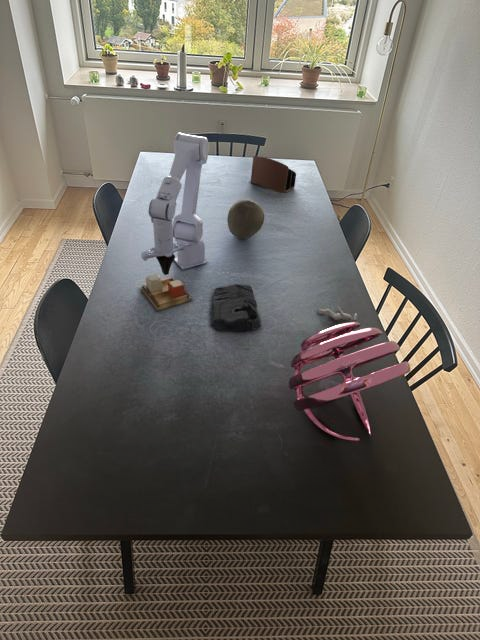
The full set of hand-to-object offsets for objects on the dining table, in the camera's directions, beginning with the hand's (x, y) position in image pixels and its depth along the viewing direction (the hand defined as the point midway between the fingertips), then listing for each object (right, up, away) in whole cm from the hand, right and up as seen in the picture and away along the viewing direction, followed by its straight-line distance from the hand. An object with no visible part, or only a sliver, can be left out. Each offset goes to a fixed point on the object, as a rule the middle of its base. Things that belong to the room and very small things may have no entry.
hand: (165, 273), depth 148 cm
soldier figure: (+55, -15, -3) cm, 57 cm away
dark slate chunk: (+23, -12, -2) cm, 26 cm away
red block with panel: (+3, -8, +1) cm, 9 cm away
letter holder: (+40, +51, +76) cm, 100 cm away
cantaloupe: (+26, +18, +35) cm, 47 cm away
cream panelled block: (-4, -6, +2) cm, 7 cm away
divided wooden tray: (0, -7, +1) cm, 7 cm away
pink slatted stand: (+49, -38, -31) cm, 70 cm away
